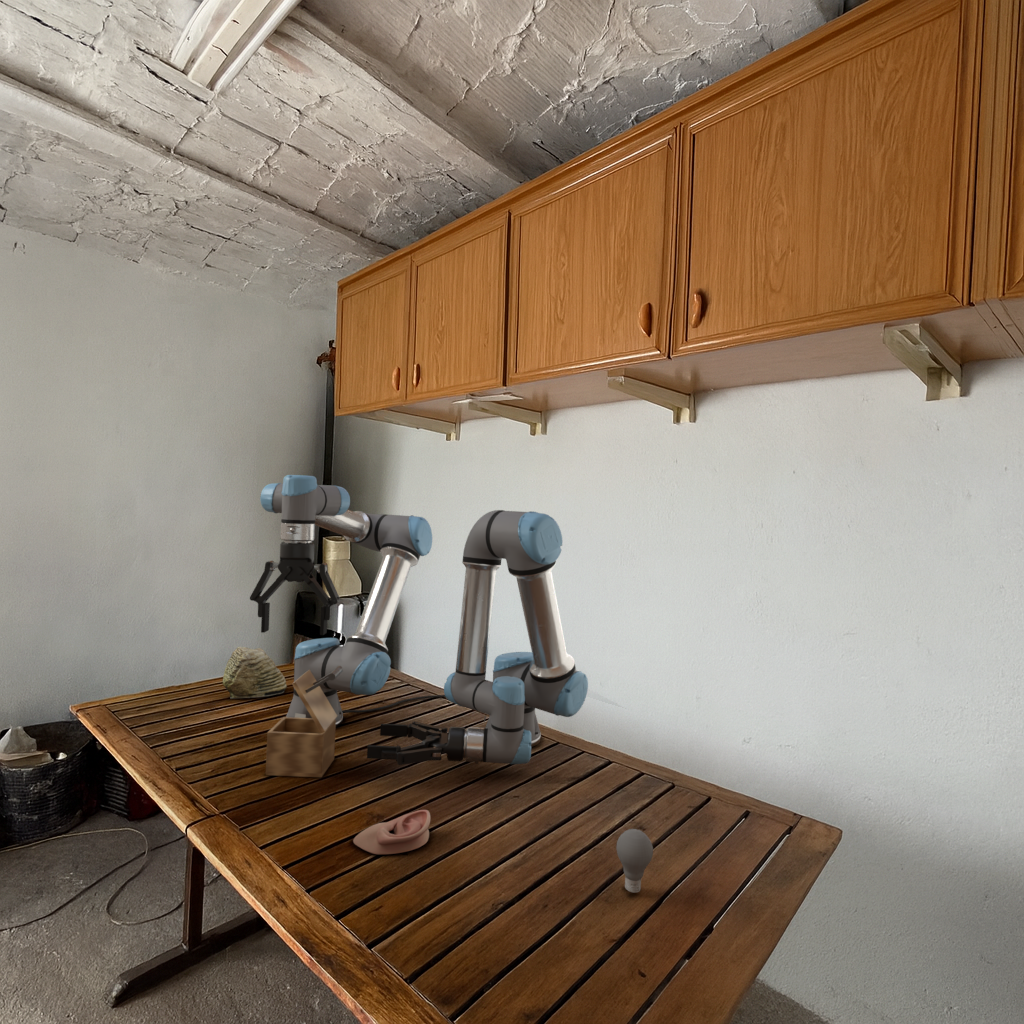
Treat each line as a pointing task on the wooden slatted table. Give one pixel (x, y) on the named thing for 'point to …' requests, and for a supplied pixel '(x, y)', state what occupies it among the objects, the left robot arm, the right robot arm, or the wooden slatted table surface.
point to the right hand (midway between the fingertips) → (374, 740)
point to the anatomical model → (396, 834)
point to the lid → (317, 697)
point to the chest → (299, 748)
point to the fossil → (252, 674)
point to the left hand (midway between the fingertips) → (294, 632)
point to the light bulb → (634, 857)
